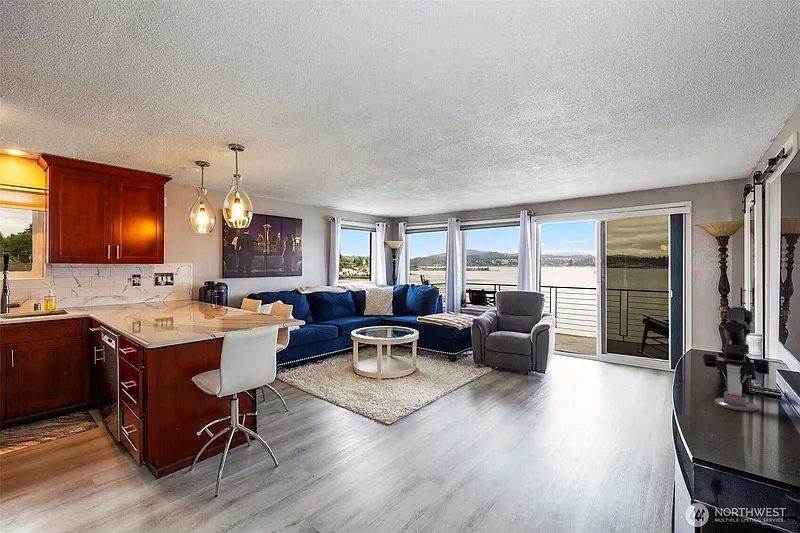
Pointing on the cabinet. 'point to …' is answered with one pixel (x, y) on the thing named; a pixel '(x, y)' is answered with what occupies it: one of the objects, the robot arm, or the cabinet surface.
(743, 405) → the stand base
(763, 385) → the cabinet surface
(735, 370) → the column
